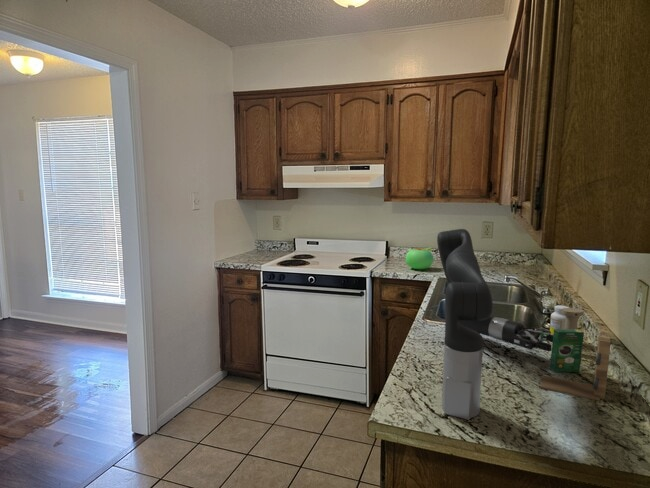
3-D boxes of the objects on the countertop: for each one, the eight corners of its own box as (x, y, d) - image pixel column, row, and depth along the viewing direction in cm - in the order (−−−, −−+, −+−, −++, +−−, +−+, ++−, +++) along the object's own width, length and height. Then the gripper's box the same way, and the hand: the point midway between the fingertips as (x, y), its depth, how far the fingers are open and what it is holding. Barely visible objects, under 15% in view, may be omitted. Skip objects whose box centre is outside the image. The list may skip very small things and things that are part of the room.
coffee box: (575, 368, 129) (579, 328, 127) (580, 372, 126) (584, 331, 124) (549, 368, 129) (552, 328, 127) (554, 372, 126) (557, 331, 124)
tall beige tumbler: (555, 349, 143) (559, 307, 141) (574, 349, 143) (578, 308, 140) (562, 355, 138) (566, 312, 136) (582, 355, 138) (586, 312, 136)
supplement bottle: (567, 338, 153) (569, 305, 151) (572, 345, 146) (575, 310, 145) (547, 336, 155) (549, 303, 153) (551, 343, 148) (554, 309, 146)
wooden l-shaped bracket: (605, 402, 109) (611, 344, 107) (540, 388, 117) (544, 334, 114) (602, 383, 119) (607, 330, 117) (542, 371, 127) (546, 321, 124)
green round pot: (403, 270, 269) (404, 248, 267) (407, 265, 285) (407, 244, 282) (432, 272, 263) (433, 249, 261) (434, 267, 279) (434, 245, 277)
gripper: (496, 324, 136) (548, 338, 123) (516, 315, 145) (566, 327, 132) (494, 346, 137) (546, 362, 124) (515, 336, 146) (565, 350, 133)
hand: (556, 344), depth 128 cm, fingers open, 8 cm apart
